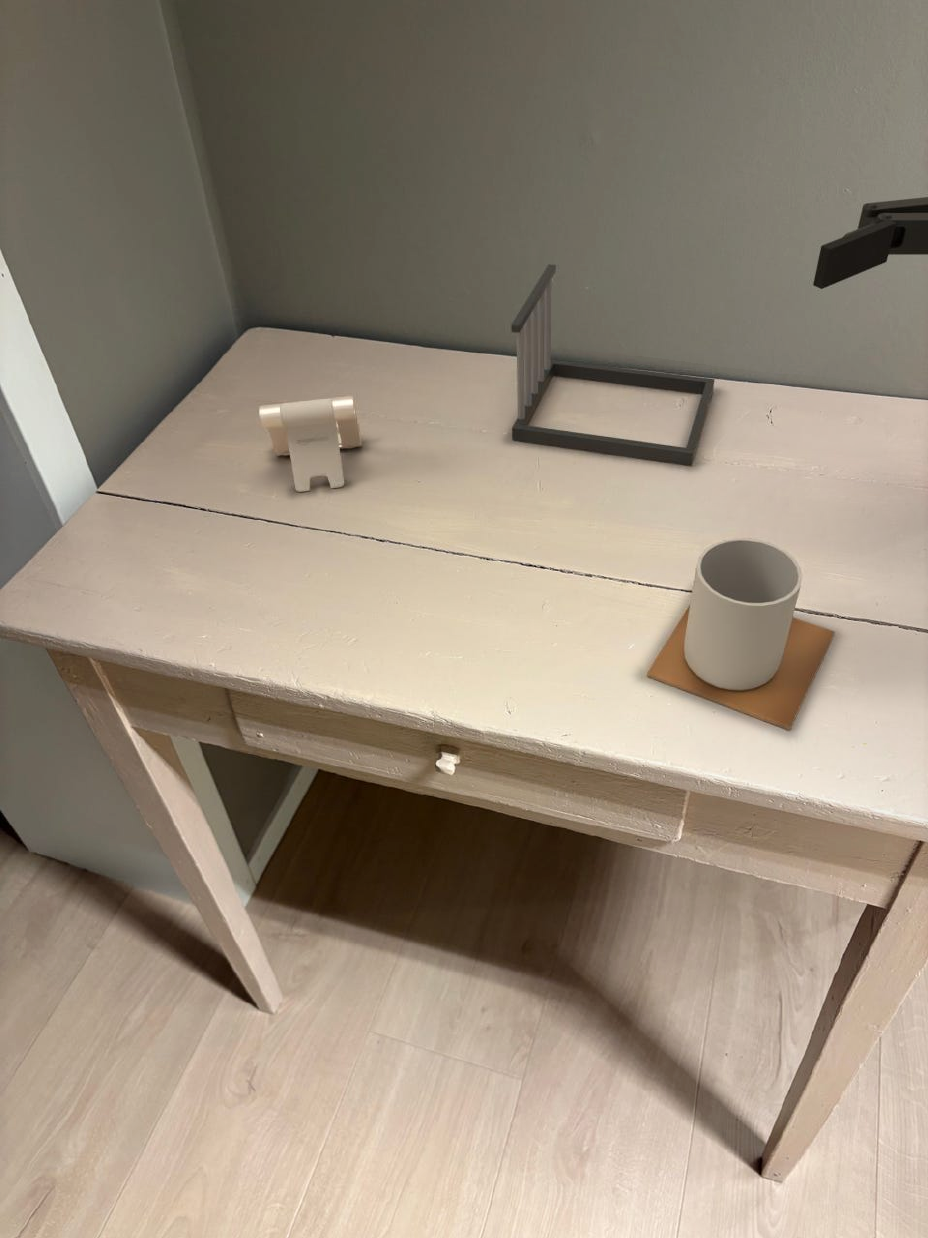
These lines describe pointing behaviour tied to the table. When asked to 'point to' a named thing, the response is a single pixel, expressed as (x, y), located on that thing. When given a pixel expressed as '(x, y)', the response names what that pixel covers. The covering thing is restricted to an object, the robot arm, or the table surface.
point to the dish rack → (540, 369)
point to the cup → (741, 612)
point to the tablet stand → (313, 436)
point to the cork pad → (763, 702)
